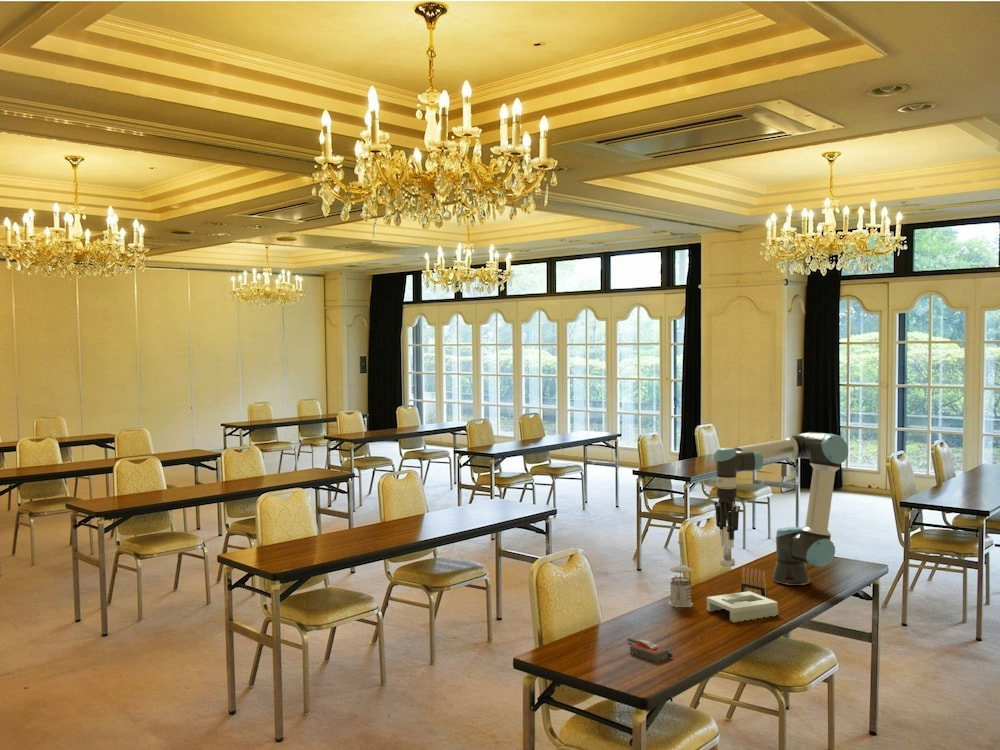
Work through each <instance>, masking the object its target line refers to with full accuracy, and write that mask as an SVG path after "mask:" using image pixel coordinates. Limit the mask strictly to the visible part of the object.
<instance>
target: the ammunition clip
mask: <svg viewBox="0 0 1000 750" xmlns="http://www.w3.org/2000/svg"><path fill="white" fill-rule="evenodd" d="M766 579H767V578H766V572H765V570H764V569H763V570H761V569H758V570H757V568H755V569H754V568H753V567H751V569H750V568H749V566H747V567H746V566H743V567H742V575H741V583H740V585H741V587H740V592H747V591H750V592H753V593H756V594H758V595H761V596H763V597H766V598H768V588H767V580H766Z"/></svg>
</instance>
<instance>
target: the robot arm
mask: <svg viewBox="0 0 1000 750" xmlns="http://www.w3.org/2000/svg"><path fill="white" fill-rule="evenodd" d="M848 455H849V447H848V443H847V442H846V441H845V439H844V438H843V437H842V436H841V435H838V434H834V433H825V432H816V431H808V432H802V433H799V434H797V433H796V434H793V435H788V436H785V437H784V438H783V439H780V440H779V439H778V440H772V441H766V442H761V443H756V444H750V445H744V446H743V445H742V446H737V447H719V448H718V449H717V450H716V451H715V453H714V461H715V463H716V486H717V488H716V497H717V498H718V500H717V501H714V503H713V504H714V508H715V521H716V527H718V528H719V531H720V532H719V533H720V547H723V526H728V530H727V548H731V549H733V548H734V546H735V545H734V544H735V543H734V541H735V532H736V531H739V520H740V519H739V517H740V516H739V515H740V514H739V513H740V510H741V506H740V505H737V504H736V501H735V500H736V498H737V496H738V495H737V494H738V493H737V492H738V490H737V488H736V487H737V485H738V484H737V482H738V481H737V478H738V477H737V474H738V472H750V471H751V472H755V471H759V470H761V469H763V466H764V462H766V461H767V462H768V461H772V460H773V461H774V460H778V459H784V458H788V459H790V460H791V459H797V458H798V459H807V460H809V461H810V462H809V465H810V466H811V468H812V475H811V483H810V489H809V496H808V497H809V498H808V503H807V512H806V519H805V525H804V526H803V527H797V526H796V527H795V526H793V527H792V526H789V527H788V526H787V527H781V528H778V529H776V536H775V546H776V551H775V552H776V563H775V567H774V571H773V573H772V576H771V577H772V579H773V580H775V581H777V582H781V583H788V584H801V583H806V582H808V581H810V582H811V578H810V575H809V574H810V573H809V571H808V569H807V566H806V564H808V565H810V566H815V567H825V566H827V565H829V563H831V561H833V559H834V557H835V554H836V546H835V545H834V542H833V541H832V540H831V537H832V536H831V535H832V534H831V533H830V531H829V530H828V528H829V524H830V523H829V521H830V516H831V515H830V514H831V507H832V501H833V500H832V499H833V491H834V484H835V477H836V472H837V471H838V470H840V469H841V464H842V463H844V462H845V461H846V460H847V459H848ZM773 580H772V581H773Z"/></svg>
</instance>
